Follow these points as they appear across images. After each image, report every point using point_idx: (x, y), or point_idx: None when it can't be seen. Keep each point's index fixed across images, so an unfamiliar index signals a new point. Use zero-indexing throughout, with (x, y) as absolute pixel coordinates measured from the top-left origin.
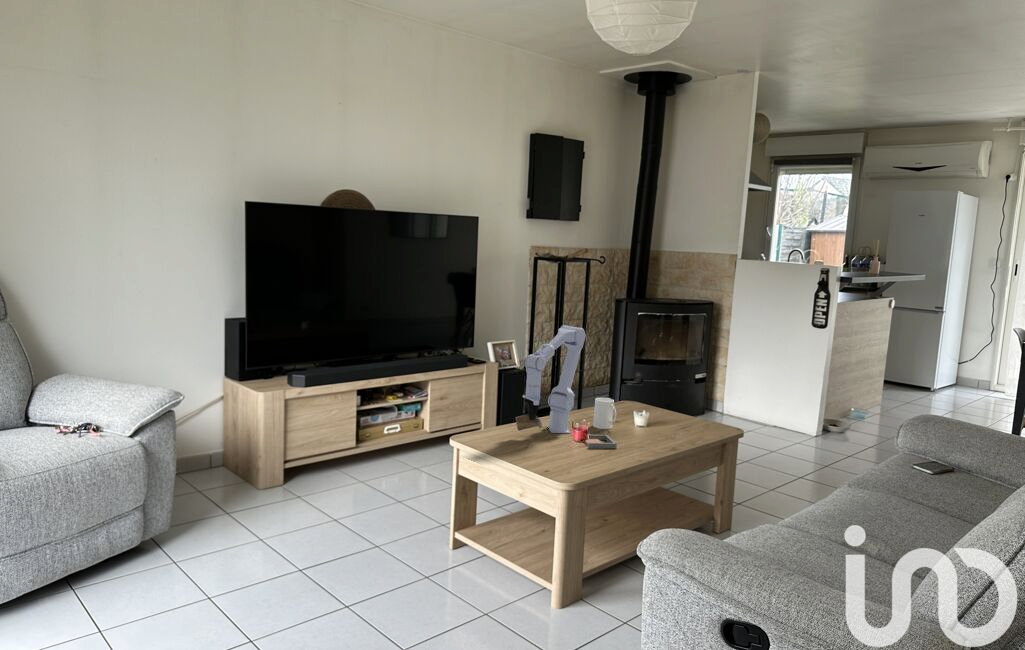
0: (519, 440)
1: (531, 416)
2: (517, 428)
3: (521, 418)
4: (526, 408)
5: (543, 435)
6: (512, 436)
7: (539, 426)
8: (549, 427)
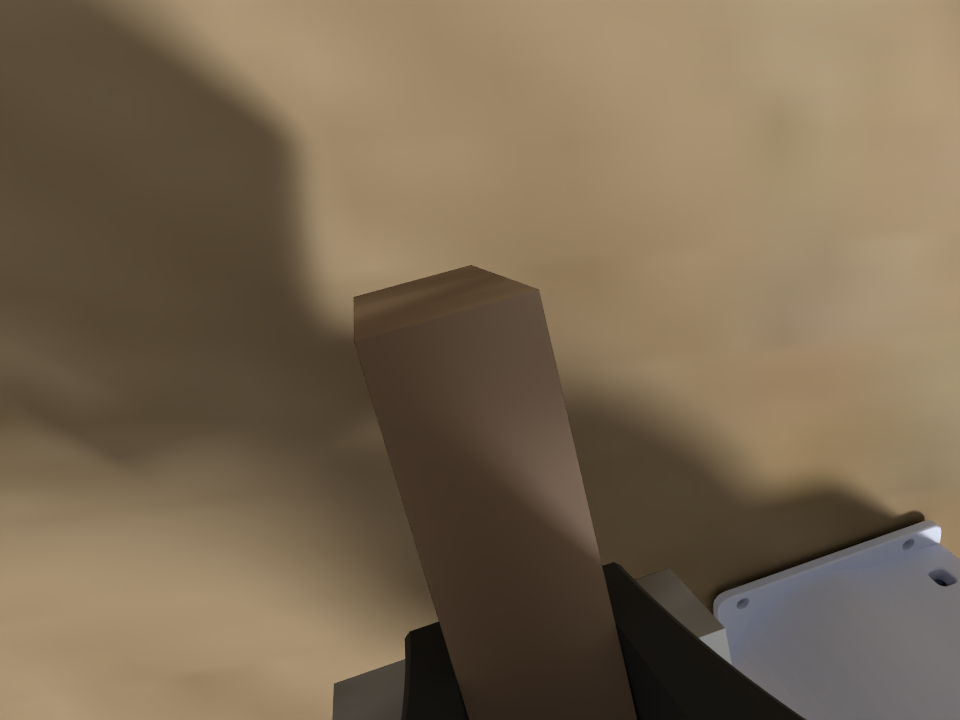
0: (310, 272)
1: None
2: (452, 271)
3: (397, 474)
4: (780, 704)
5: (625, 529)
6: (506, 146)
7: (335, 706)
8: (880, 556)
